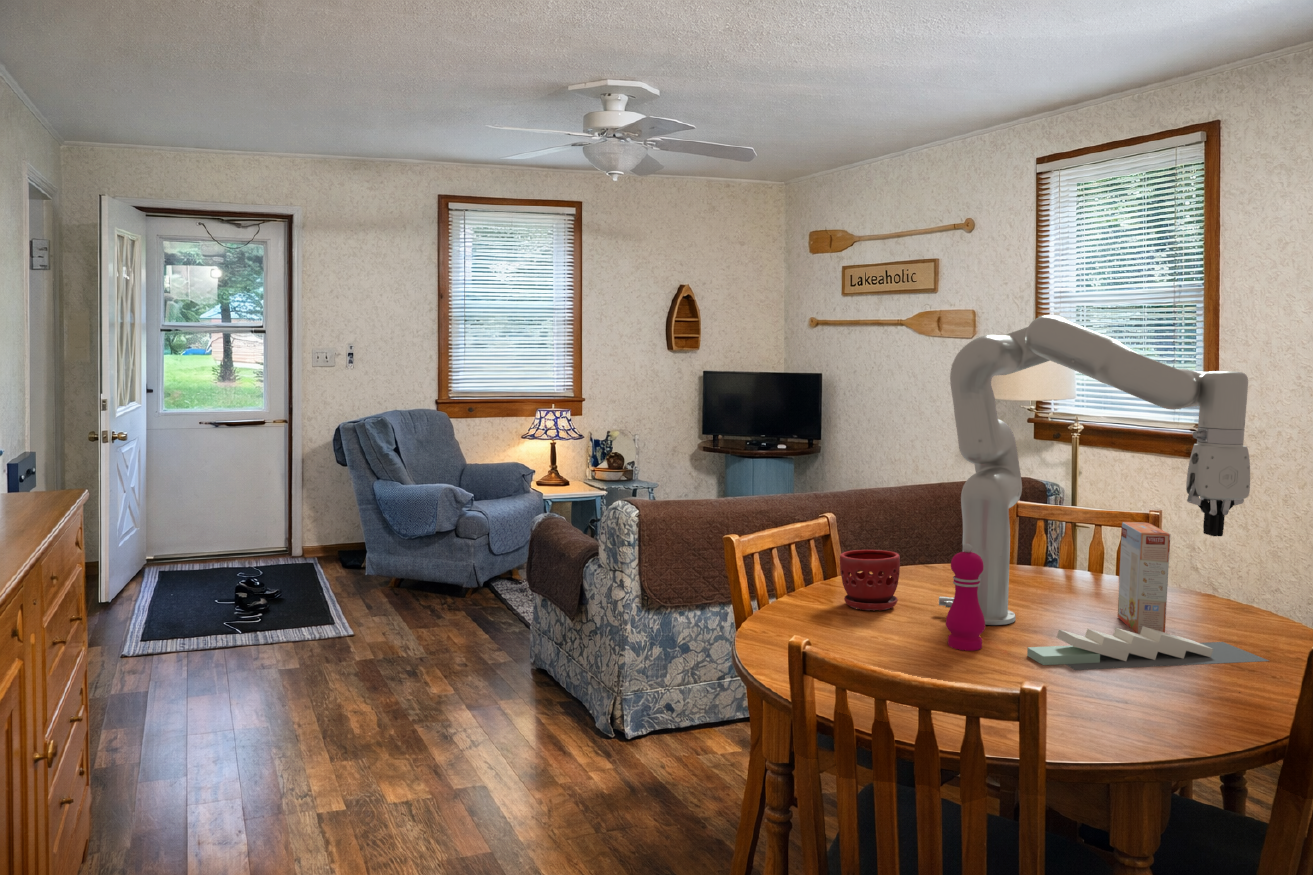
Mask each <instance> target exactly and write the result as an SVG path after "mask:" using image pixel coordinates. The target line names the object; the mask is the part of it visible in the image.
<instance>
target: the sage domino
mask: <svg viewBox="0 0 1313 875" xmlns="http://www.w3.org/2000/svg"><path fill="white" fill-rule="evenodd" d="M1026 653H1027V654H1026V655H1027V657H1029V658H1031V659H1032V660H1033V661H1036V662H1037V663H1039V664H1041V665H1043V666H1052V665H1053V666H1054V665H1055V666H1056V665H1065V664H1079V663H1100V654H1099V653H1095V652H1092V651H1088V650H1085V649H1081V648H1078V647H1074V646H1072V645H1056V646H1055V645H1054V646H1031V647H1030V646H1029V647H1028V646H1027V652H1026Z"/></svg>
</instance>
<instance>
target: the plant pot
mask: <svg viewBox="0 0 1313 875" xmlns="http://www.w3.org/2000/svg"><path fill="white" fill-rule="evenodd" d="M900 556H901V555H900V554H899V553H898V552H895V551H890V550H881V549H855V550H848V551H843V552H842V553H840V555H839V570H840V575H841V582H842V585H843V589H844V591H845V593H846V595H845V596H844V598H843V599H844V602H845V604H847V606H849V607H850V608H853V609H856V608H857V609H860V610H861V609H862V610H863V611H870V610H873V612H874V611H875V610H879V611H886V610H890V608H891V609H892V608H894V607H895V606H896V605H897V603H898V600H899V599H898V597H897V596H895V592H896V590H897V588H898V584H899V579H900V569H901V558H900ZM858 571H861V572H858ZM857 609H856V610H857Z"/></svg>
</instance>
